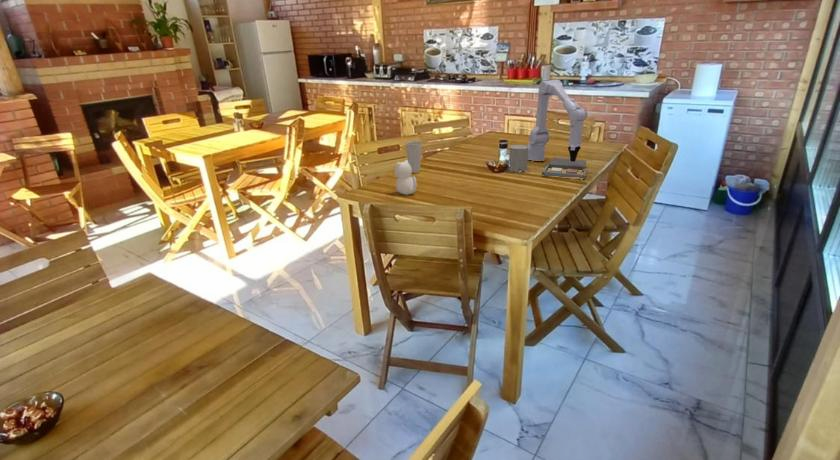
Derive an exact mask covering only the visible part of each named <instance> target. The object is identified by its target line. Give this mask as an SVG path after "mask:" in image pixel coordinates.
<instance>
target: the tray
mask: <svg viewBox="0 0 840 460" xmlns="http://www.w3.org/2000/svg"><path fill="white" fill-rule="evenodd" d="M548 168H549V164H547V165H546V166H544V168H543V170H542V171H541V176H542V175H544V176H559V177H579V178H584V177H585V178H586V176H585V175H587V174H586V172H588V168H587V167H585V168H584V171H583V175H581V174H569V173H558V172H547V170H548Z"/></svg>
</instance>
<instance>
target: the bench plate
mask: <svg viewBox="0 0 840 460" xmlns="http://www.w3.org/2000/svg"><path fill="white" fill-rule="evenodd" d="M585 164H586V165H587V160H586V159H579V158H578V159H577V158H576V160H575V162H572V161H570V158H564V157H553V158H552V159H551V160H550V161H549V163H548V165H549V168H563V169H578V170H583V169H584V170H585V168H584V166H585ZM585 167H586V166H585Z"/></svg>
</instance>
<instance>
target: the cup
mask: <svg viewBox="0 0 840 460" xmlns="http://www.w3.org/2000/svg"><path fill="white" fill-rule="evenodd" d="M405 151H406V152H405V153H406V158H407V160H408V163H409V164H410V166H411V168H412V173H411V174H417V173H420V172H421V158H422V141H421V140H420V141H418V140H410V141H406V142H405Z"/></svg>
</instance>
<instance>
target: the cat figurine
mask: <svg viewBox="0 0 840 460" xmlns="http://www.w3.org/2000/svg"><path fill="white" fill-rule="evenodd" d="M412 174H413V173H412V168H411V166H410V164H409V163H408V160H407V159H404V161H398V162H396V165H395V167H394V176H395V177H396V178H397V180H396V183H395V189H396V191H397V193H398V194H401V195H405V196H409V195H412V194H414V193H415V192H416V191H417V187H418V186H417V178H416V177H415V176H414V175H413V176H411V175H412Z"/></svg>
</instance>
